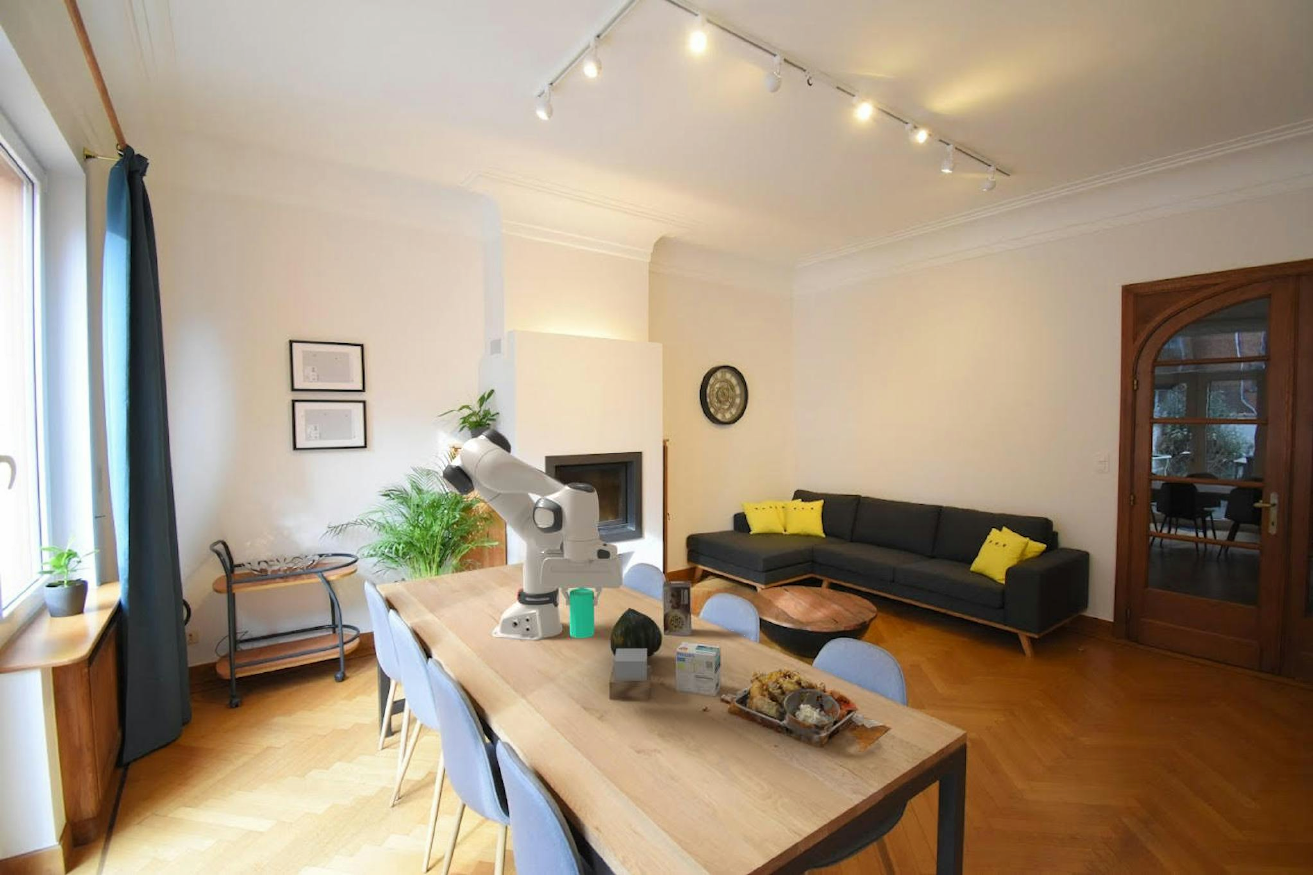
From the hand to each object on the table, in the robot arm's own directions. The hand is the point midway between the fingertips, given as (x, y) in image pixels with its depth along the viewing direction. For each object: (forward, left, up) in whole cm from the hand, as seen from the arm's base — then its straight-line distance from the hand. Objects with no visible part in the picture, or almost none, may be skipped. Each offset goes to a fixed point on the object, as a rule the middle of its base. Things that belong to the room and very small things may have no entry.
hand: (582, 604), depth 144 cm
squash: (+12, +22, -24) cm, 35 cm away
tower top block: (+12, +5, -19) cm, 23 cm away
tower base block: (+12, +5, -24) cm, 27 cm away
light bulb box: (+29, +7, -24) cm, 38 cm away
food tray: (+50, -9, -25) cm, 57 cm away
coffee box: (+24, +47, -24) cm, 58 cm away
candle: (0, 0, -7) cm, 7 cm away
